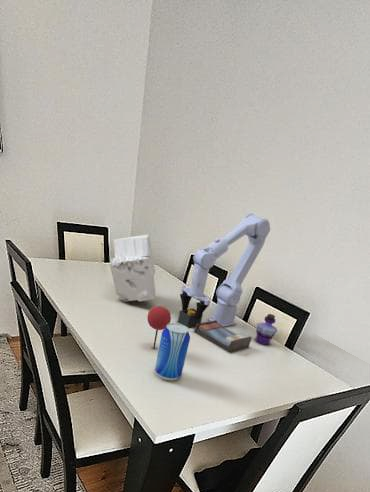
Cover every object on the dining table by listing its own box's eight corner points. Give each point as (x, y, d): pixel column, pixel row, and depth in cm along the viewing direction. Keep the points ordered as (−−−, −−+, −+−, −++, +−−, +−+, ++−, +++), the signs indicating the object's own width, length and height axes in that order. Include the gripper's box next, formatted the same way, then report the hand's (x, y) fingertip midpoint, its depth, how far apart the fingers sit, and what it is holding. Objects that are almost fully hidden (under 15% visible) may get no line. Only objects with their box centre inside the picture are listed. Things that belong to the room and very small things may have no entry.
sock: (189, 320, 161) (191, 309, 158) (194, 323, 159) (197, 312, 156) (183, 321, 158) (186, 310, 156) (189, 324, 157) (191, 313, 154)
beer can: (153, 366, 122) (162, 319, 113) (179, 370, 123) (190, 324, 115) (154, 380, 115) (164, 331, 106) (181, 383, 116) (193, 335, 108)
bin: (190, 319, 163) (193, 308, 161) (200, 325, 160) (203, 313, 158) (177, 321, 158) (180, 310, 155) (187, 327, 155) (189, 315, 152)
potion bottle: (255, 335, 163) (264, 309, 157) (274, 342, 161) (284, 316, 155) (249, 341, 156) (258, 314, 150) (269, 349, 154) (279, 321, 148)
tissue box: (156, 305, 160) (145, 242, 147) (119, 310, 162) (104, 248, 148) (159, 291, 178) (149, 234, 164) (125, 296, 179) (113, 239, 165)
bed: (213, 327, 161) (216, 317, 158) (248, 347, 151) (252, 337, 149) (194, 331, 153) (196, 321, 150) (229, 352, 143) (233, 342, 141)
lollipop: (167, 347, 135) (175, 307, 127) (159, 355, 129) (167, 313, 121) (147, 341, 136) (154, 300, 128) (139, 348, 130) (145, 306, 122)
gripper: (178, 276, 151) (172, 309, 158) (204, 289, 143) (196, 323, 151) (190, 276, 156) (183, 307, 163) (216, 288, 148) (208, 321, 155)
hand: (190, 315), depth 157 cm, fingers open, 7 cm apart
